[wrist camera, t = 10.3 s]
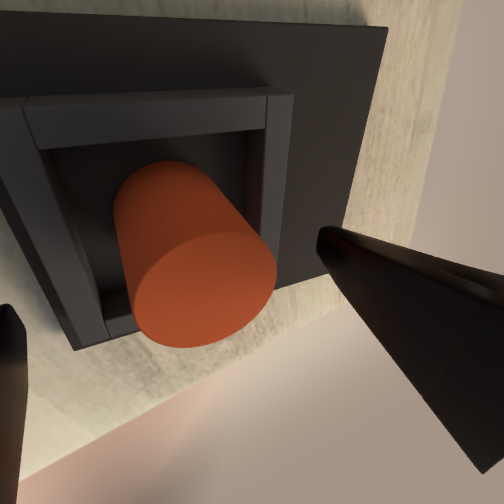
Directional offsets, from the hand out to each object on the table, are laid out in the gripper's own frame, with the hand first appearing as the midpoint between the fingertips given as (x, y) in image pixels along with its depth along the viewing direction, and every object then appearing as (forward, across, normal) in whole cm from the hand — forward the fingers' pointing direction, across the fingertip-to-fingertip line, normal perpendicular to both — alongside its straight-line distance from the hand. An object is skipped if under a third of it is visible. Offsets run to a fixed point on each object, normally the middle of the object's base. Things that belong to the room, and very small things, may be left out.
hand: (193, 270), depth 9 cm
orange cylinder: (+4, 0, 0) cm, 4 cm away
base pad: (+5, -2, 0) cm, 5 cm away
